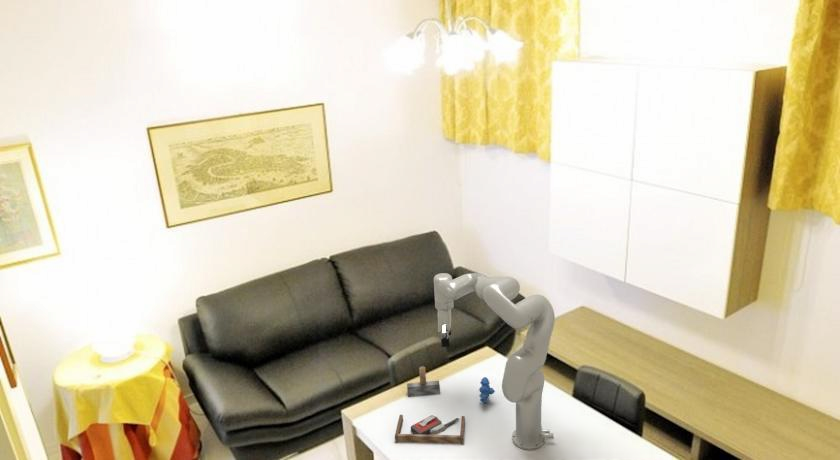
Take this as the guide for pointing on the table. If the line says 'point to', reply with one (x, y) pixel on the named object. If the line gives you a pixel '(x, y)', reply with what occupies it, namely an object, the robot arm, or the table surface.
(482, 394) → the grapes
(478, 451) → the table surface
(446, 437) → the dock
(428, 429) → the walkie-talkie
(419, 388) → the scraper
